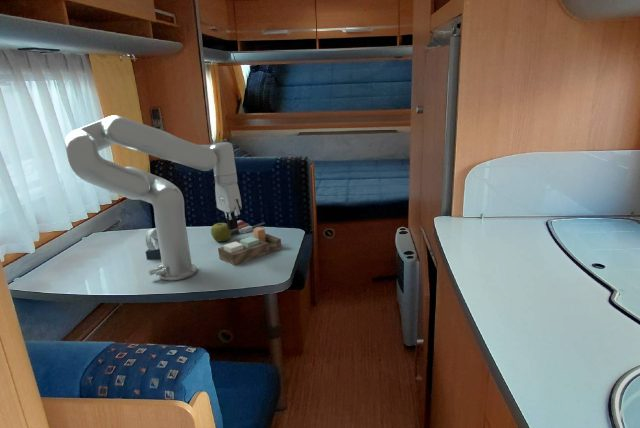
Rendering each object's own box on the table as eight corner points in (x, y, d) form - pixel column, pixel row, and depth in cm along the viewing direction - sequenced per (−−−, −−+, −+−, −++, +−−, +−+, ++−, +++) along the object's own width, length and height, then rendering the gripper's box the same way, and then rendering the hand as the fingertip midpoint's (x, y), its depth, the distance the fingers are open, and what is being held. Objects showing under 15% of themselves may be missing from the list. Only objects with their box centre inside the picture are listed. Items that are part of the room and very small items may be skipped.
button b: (248, 250, 171) (247, 243, 170) (240, 247, 175) (240, 240, 174) (259, 247, 174) (258, 239, 173) (252, 243, 178) (251, 236, 177)
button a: (231, 256, 167) (230, 248, 166) (224, 253, 170) (223, 245, 169) (243, 252, 170) (242, 244, 169) (236, 249, 173) (235, 241, 172)
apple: (213, 238, 194) (211, 222, 192) (233, 237, 194) (231, 220, 192) (211, 245, 186) (209, 228, 184) (231, 243, 187) (229, 226, 185)
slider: (258, 243, 179) (257, 231, 178) (254, 241, 181) (253, 229, 180) (265, 241, 181) (264, 228, 180) (261, 239, 183) (260, 227, 182)
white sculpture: (168, 253, 181) (163, 225, 177) (158, 261, 173) (153, 233, 170) (154, 253, 181) (149, 226, 178) (144, 261, 174) (139, 233, 170)
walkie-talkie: (230, 239, 192) (266, 226, 206) (229, 229, 191) (265, 216, 205) (217, 235, 198) (253, 223, 212) (216, 225, 197) (252, 213, 211)
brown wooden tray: (233, 265, 165) (232, 255, 164) (219, 258, 172) (218, 248, 171) (281, 248, 178) (280, 239, 177) (266, 242, 185) (265, 233, 184)
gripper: (205, 178, 165) (213, 227, 171) (227, 183, 154) (235, 236, 160) (224, 173, 170) (231, 221, 175) (246, 179, 159) (253, 230, 164)
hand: (233, 228), depth 168 cm, fingers closed
